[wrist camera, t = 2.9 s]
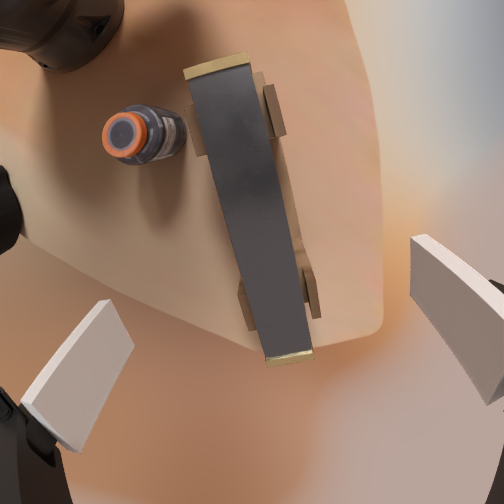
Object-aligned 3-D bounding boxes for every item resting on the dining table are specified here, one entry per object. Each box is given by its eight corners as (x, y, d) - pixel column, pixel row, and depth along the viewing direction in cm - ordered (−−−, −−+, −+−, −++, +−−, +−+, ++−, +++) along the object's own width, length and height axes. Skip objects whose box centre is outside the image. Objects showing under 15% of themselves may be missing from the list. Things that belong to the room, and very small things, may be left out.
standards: (259, 299, 38) (257, 361, 27) (203, 88, 28) (171, 63, 17) (310, 289, 37) (326, 348, 26) (262, 73, 28) (261, 38, 16)
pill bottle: (132, 135, 31) (80, 138, 20) (165, 101, 29) (122, 86, 18) (162, 168, 32) (119, 183, 22) (197, 134, 31) (165, 132, 20)
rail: (306, 318, 29) (314, 359, 23) (266, 326, 29) (267, 367, 23) (251, 73, 20) (247, 51, 14) (202, 86, 21) (182, 69, 15)
